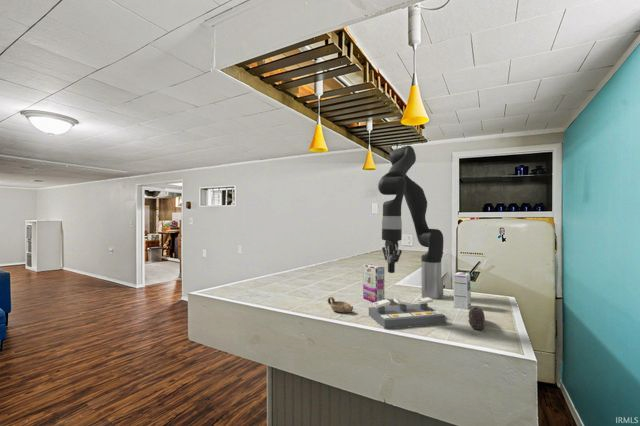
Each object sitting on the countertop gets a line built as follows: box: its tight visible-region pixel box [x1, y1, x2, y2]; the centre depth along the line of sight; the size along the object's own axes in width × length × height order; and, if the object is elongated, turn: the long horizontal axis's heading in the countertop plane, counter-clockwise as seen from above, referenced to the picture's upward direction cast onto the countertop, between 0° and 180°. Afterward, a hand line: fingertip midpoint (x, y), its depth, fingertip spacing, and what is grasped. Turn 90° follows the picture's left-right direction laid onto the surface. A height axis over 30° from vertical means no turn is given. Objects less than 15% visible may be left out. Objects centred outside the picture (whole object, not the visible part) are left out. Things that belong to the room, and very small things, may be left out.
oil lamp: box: [327, 296, 354, 313], centre depth 135 cm, size 13×8×5 cm, turn 42°
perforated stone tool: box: [468, 305, 486, 330], centre depth 117 cm, size 15×5×7 cm, turn 153°
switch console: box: [368, 303, 446, 329], centre depth 124 cm, size 24×16×5 cm, turn 102°
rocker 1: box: [372, 298, 391, 308], centre depth 124 cm, size 6×4×1 cm, turn 102°
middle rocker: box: [393, 298, 413, 306], centre depth 126 cm, size 6×4×1 cm, turn 102°
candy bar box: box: [362, 263, 385, 303], centre depth 151 cm, size 11×5×16 cm, turn 25°
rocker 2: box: [414, 297, 434, 304], centre depth 128 cm, size 6×4×1 cm, turn 102°
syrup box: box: [452, 271, 472, 310], centre depth 140 cm, size 6×6×14 cm
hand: (391, 272), depth 124 cm, fingers closed
